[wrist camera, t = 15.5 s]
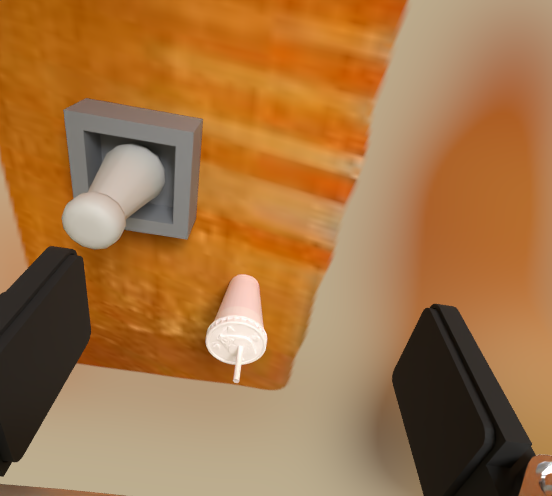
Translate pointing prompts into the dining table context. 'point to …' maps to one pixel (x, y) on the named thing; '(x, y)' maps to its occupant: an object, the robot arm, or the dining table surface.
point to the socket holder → (149, 133)
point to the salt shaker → (114, 196)
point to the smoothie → (238, 325)
